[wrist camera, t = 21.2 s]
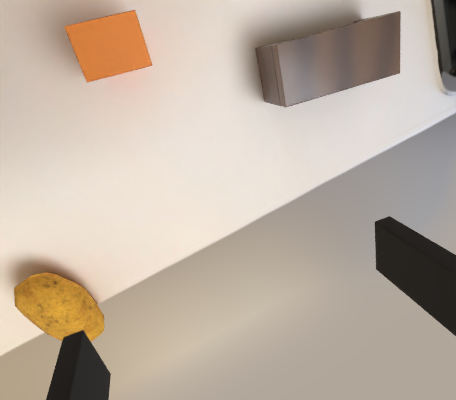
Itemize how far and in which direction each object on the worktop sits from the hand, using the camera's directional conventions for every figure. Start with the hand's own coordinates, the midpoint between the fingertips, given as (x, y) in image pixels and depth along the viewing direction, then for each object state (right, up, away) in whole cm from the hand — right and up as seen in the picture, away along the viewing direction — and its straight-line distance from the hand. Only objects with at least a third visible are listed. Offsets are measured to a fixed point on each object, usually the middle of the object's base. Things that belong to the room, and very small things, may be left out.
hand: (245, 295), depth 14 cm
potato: (-25, -10, +34) cm, 43 cm away
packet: (-14, +22, +24) cm, 35 cm away
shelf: (+11, +23, +30) cm, 40 cm away
